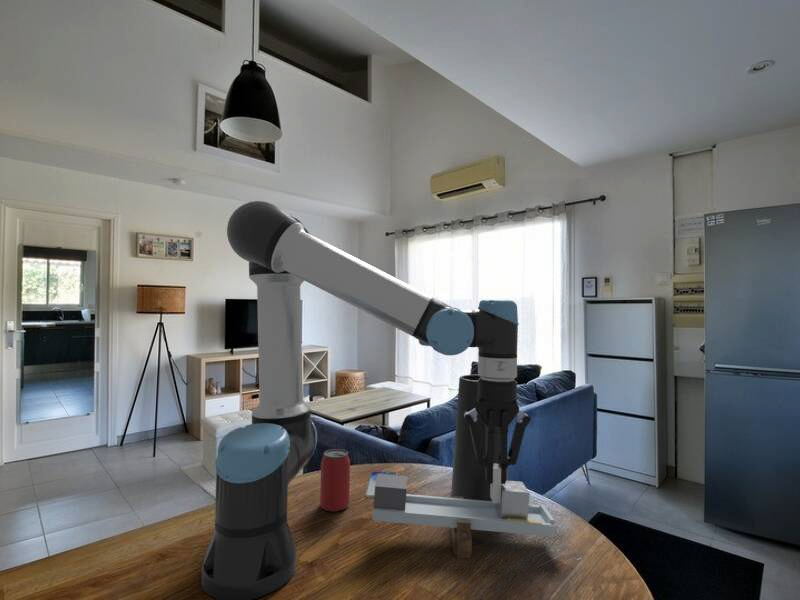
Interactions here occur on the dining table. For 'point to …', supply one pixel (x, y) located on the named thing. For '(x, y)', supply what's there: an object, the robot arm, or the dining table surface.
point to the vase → (470, 447)
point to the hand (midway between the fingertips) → (495, 499)
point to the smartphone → (372, 482)
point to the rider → (513, 501)
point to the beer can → (335, 480)
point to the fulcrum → (462, 537)
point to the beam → (451, 510)
